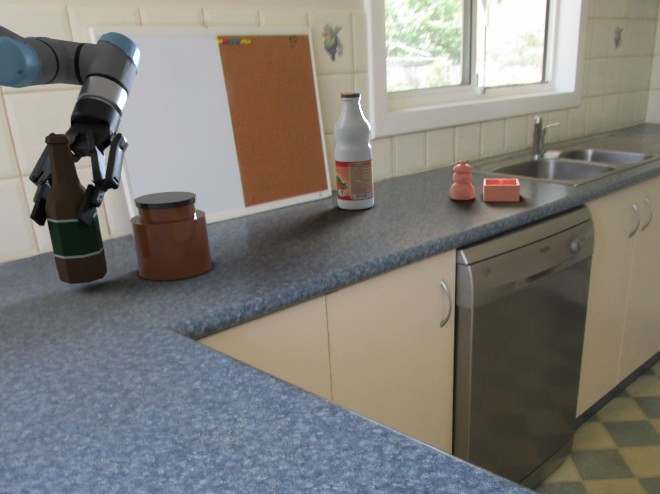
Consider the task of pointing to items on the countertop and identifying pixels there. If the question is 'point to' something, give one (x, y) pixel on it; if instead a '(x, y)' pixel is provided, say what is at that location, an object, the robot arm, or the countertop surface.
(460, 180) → the pottery
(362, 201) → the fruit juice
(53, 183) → the beer bottle
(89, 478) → the countertop surface
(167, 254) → the jar
